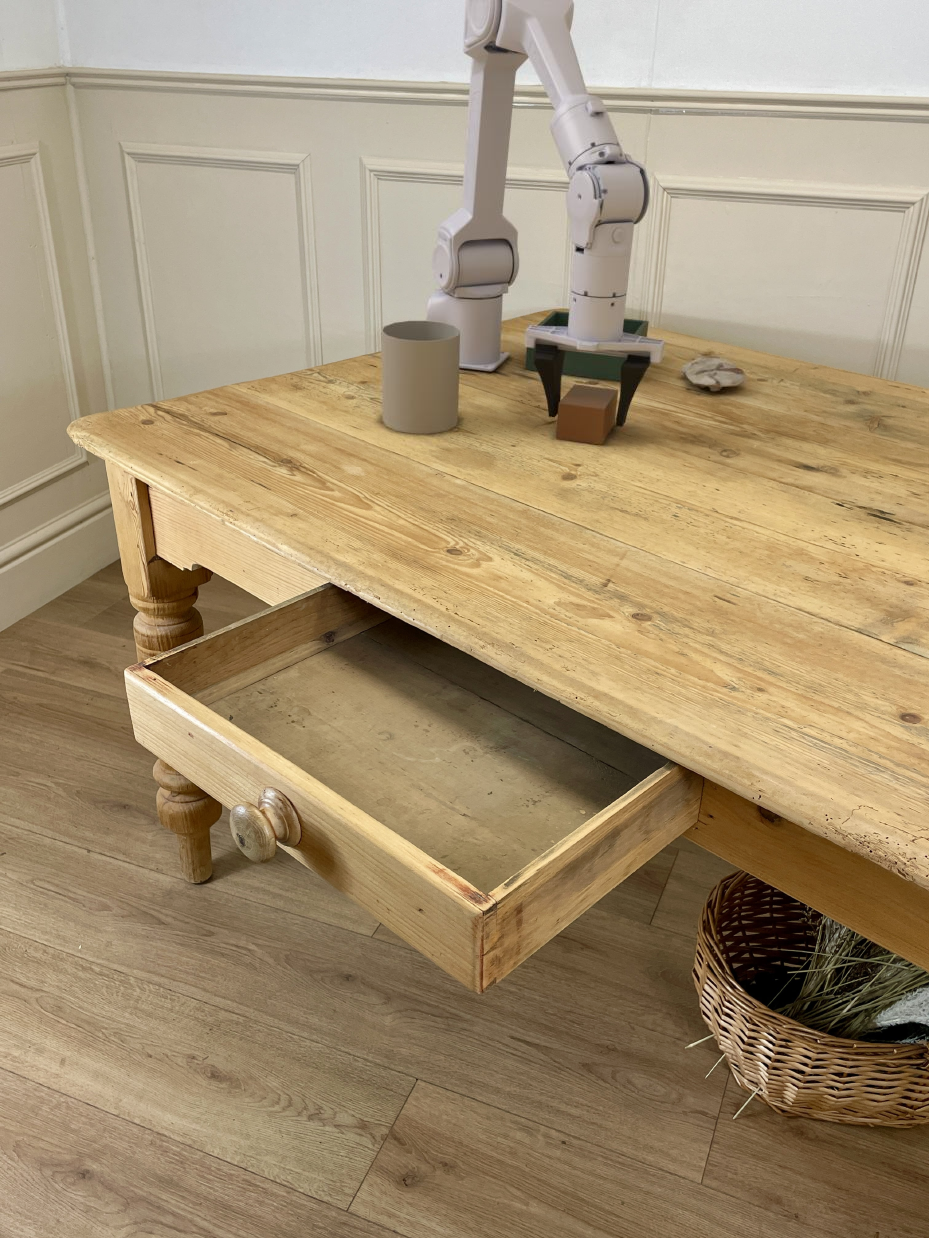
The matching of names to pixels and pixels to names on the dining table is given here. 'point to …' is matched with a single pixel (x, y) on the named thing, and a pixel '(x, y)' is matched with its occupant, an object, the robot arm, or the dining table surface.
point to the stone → (713, 372)
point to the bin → (589, 362)
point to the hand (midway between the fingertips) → (587, 419)
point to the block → (586, 414)
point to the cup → (420, 376)
